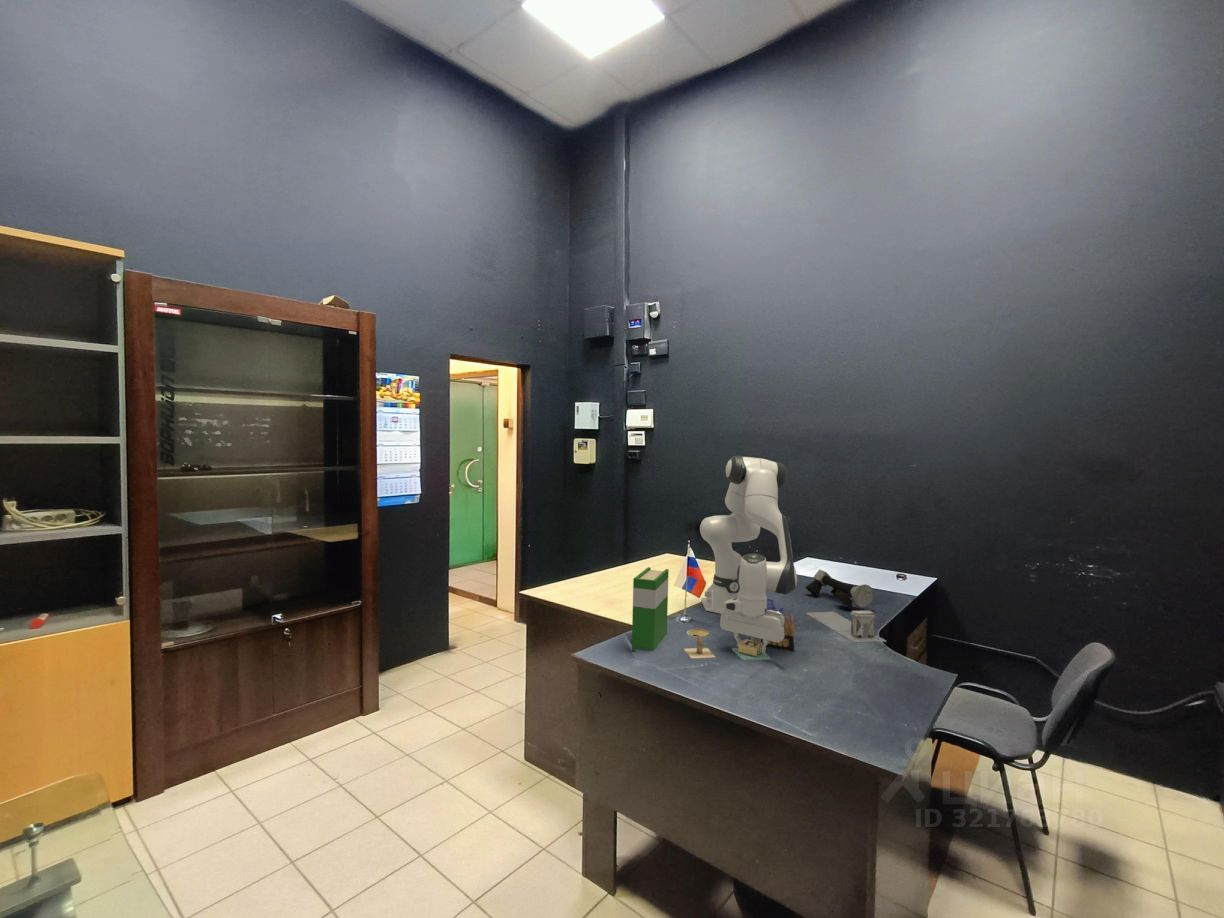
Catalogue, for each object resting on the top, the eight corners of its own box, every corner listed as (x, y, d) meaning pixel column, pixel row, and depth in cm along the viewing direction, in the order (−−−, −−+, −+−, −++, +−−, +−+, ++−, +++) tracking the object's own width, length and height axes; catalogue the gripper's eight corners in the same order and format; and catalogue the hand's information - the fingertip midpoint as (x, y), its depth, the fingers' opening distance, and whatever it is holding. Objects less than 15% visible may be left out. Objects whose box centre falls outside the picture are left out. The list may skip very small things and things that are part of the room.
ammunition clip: (760, 646, 188) (761, 611, 187) (761, 644, 189) (762, 609, 189) (793, 651, 183) (794, 615, 183) (794, 650, 185) (795, 614, 185)
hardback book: (646, 634, 197) (648, 567, 196) (666, 637, 194) (668, 569, 193) (631, 652, 180) (633, 578, 179) (653, 655, 178) (655, 580, 177)
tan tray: (745, 646, 180) (745, 638, 180) (763, 650, 177) (763, 643, 177) (738, 651, 176) (738, 644, 175) (756, 656, 172) (756, 648, 172)
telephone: (867, 626, 228) (821, 603, 257) (885, 602, 230) (837, 582, 259) (845, 604, 225) (800, 583, 253) (863, 579, 226) (817, 562, 255)
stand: (683, 653, 180) (684, 633, 180) (707, 652, 181) (707, 632, 181) (691, 663, 172) (691, 642, 172) (715, 661, 173) (716, 641, 173)
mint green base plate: (731, 654, 180) (732, 638, 180) (757, 653, 181) (758, 637, 181) (742, 665, 171) (743, 649, 171) (770, 663, 173) (770, 648, 172)
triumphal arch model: (854, 644, 193) (855, 616, 192) (805, 614, 225) (806, 591, 225) (886, 643, 195) (887, 615, 194) (833, 613, 227) (834, 590, 227)
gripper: (788, 610, 172) (786, 654, 173) (726, 598, 184) (725, 639, 185) (781, 615, 167) (780, 660, 168) (718, 602, 179) (717, 644, 179)
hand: (750, 649), depth 176 cm, fingers closed on tan tray, 6 cm apart
